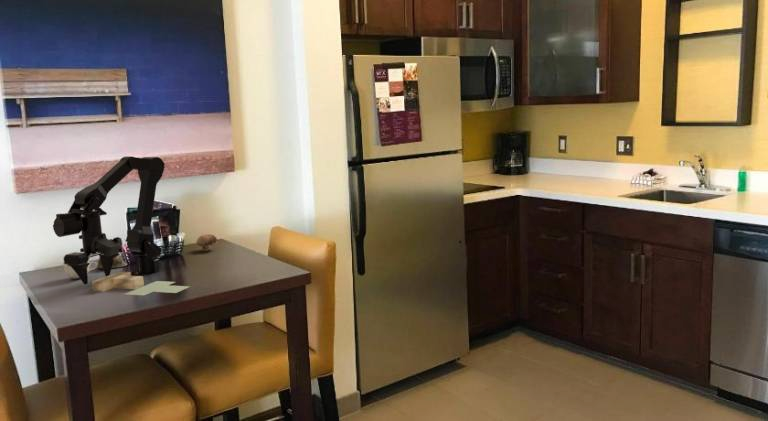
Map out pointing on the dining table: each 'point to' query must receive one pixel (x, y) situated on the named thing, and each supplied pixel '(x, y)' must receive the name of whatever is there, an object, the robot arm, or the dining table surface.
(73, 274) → the teacup
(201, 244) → the mushroom
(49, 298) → the dining table surface
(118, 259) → the cake
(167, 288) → the pad
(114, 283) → the t block
